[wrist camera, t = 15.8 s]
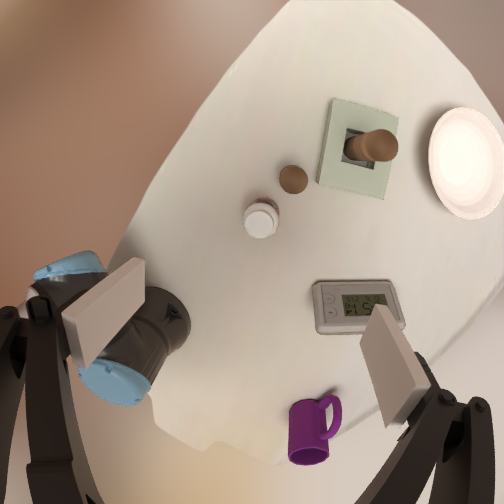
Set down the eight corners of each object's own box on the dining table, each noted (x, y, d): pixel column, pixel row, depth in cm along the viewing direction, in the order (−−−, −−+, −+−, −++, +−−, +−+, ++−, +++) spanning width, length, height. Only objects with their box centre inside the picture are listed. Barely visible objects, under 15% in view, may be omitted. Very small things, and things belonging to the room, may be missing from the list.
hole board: (315, 182, 46) (318, 184, 42) (329, 103, 41) (333, 98, 38) (376, 196, 45) (383, 199, 42) (390, 120, 41) (398, 117, 37)
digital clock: (395, 280, 50) (416, 307, 40) (380, 320, 53) (395, 351, 43) (317, 265, 51) (324, 291, 41) (305, 308, 54) (308, 340, 44)
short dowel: (278, 186, 47) (277, 191, 40) (282, 163, 46) (282, 164, 39) (301, 191, 47) (304, 196, 40) (306, 168, 45) (310, 169, 39)
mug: (282, 412, 64) (279, 459, 50) (321, 377, 59) (327, 428, 45) (309, 423, 65) (311, 468, 51) (350, 391, 60) (359, 439, 45)
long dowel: (340, 157, 44) (365, 156, 30) (344, 134, 43) (370, 124, 29) (363, 163, 44) (395, 165, 30) (366, 140, 43) (400, 134, 29)
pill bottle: (285, 210, 48) (286, 223, 39) (266, 234, 50) (262, 251, 41) (260, 190, 48) (255, 198, 38) (241, 214, 49) (231, 228, 40)
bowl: (496, 140, 38) (515, 140, 32) (473, 226, 44) (491, 235, 38) (425, 92, 38) (441, 86, 32) (399, 190, 45) (414, 194, 39)
